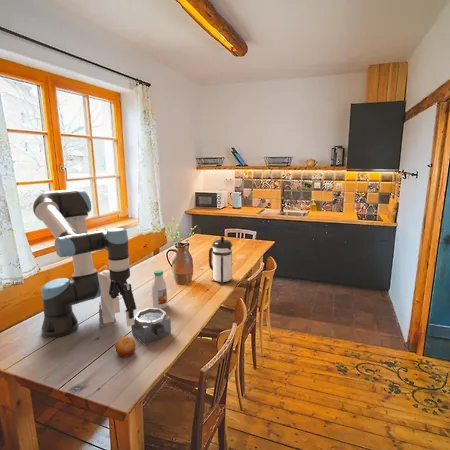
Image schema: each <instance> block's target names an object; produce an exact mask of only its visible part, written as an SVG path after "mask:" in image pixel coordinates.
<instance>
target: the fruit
mask: <svg viewBox="0 0 450 450" xmlns="http://www.w3.org/2000/svg"><path fill="white" fill-rule="evenodd" d="M136 346H137V345H136V340H135V339H133V337H131V336H127V335H124V336H121V337H119V338H118V339H117V340H116V342H115V343H114V349H115V352H116V353H117V354H118V356H120V357H121V358H126V357H128V356H130V355H132V354H133V353H134V352H135V351H136Z"/></svg>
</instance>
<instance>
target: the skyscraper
mask: <svg viewBox="0 0 450 450" xmlns="http://www.w3.org/2000/svg"><path fill="white" fill-rule="evenodd" d="M107 267H108V265H106V264H105V265H102V266H101V267H100V268H99V269H98V270H97V271H98V280H99V285H100V289H101V296H100V301H99V305H98V306H99V309H98V315H99V316H98V321H99V327H103V326H104V327H105V326H111V325H115V324H116V317H115V316H116V313H115V314H113V308H112V298H111V295H109V290H110V283H111V279H110V273H109V269H107ZM103 268H105V269H104V270H102V271H101V272H100V270H101V269H103Z"/></svg>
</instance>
